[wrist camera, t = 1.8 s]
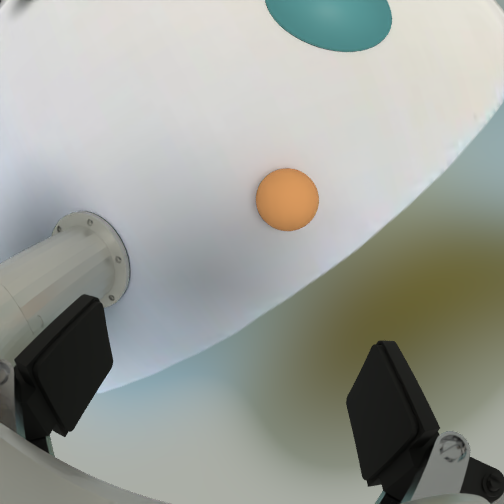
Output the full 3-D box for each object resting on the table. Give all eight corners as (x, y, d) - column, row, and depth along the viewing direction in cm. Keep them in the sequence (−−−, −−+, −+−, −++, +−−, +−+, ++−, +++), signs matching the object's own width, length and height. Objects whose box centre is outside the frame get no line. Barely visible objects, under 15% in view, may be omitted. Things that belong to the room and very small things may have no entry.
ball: (299, 231, 28) (305, 249, 22) (248, 209, 27) (243, 222, 22) (322, 181, 26) (335, 188, 21) (270, 158, 25) (271, 158, 20)
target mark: (372, 74, 22) (372, 74, 21) (244, 21, 20) (243, 20, 20) (401, -5, 17) (402, -5, 17) (291, -51, 16) (291, -52, 16)
